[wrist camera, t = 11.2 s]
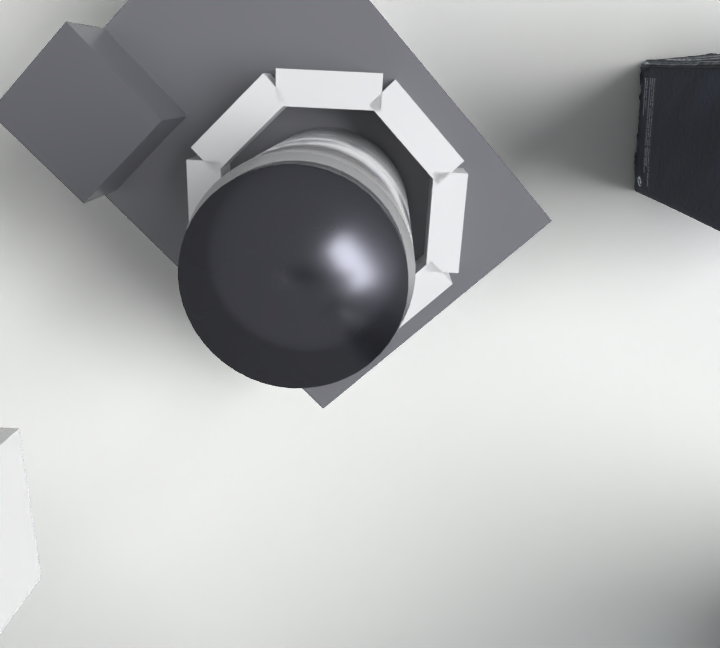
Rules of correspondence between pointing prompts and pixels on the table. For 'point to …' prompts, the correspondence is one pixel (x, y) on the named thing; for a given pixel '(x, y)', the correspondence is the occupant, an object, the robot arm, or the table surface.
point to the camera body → (265, 126)
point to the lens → (301, 260)
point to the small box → (681, 135)
